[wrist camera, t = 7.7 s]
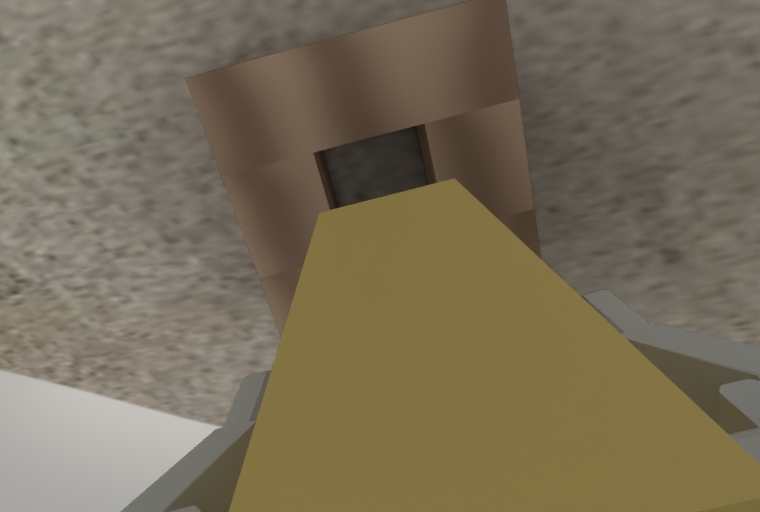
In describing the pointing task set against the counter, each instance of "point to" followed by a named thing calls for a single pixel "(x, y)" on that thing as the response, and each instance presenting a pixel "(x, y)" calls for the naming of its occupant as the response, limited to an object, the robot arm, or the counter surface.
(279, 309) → the pocket
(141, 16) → the counter surface
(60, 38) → the counter surface
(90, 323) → the counter surface
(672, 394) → the block
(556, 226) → the counter surface
